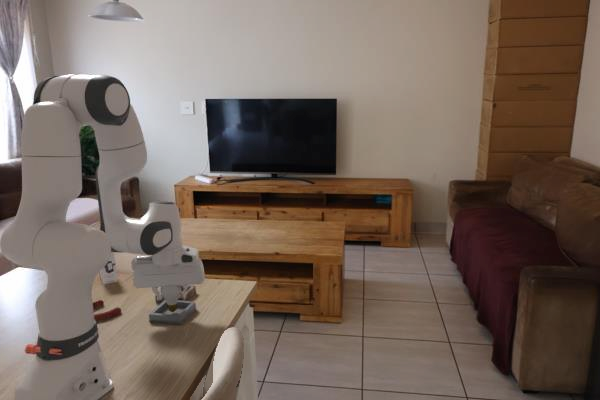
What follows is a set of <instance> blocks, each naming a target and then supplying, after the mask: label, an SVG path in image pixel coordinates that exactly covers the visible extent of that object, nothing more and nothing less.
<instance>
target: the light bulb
mask: <svg viewBox="0 0 600 400" xmlns="http://www.w3.org/2000/svg"><path fill="white" fill-rule="evenodd" d="M160 291H161V294H162V296H163V297H164V298H165V300H166V303H167V305H168V310H169V311H171V312H174V311H175V310H177V302H178V297H179V296H180V293H181V286H180V285H179V286H174V285H167V286H164V287H160Z"/></svg>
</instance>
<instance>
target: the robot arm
mask: <svg viewBox="0 0 600 400" xmlns="http://www.w3.org/2000/svg"><path fill="white" fill-rule="evenodd" d="M132 105H133V104H131V97H130V94H129V91H128V89H127V87H126V86H125V84H124V83H123V82H122V81H121V79H119V78H117V77H114V76H111V75H107V74H97V75H96V74H82V73H72V74H64V75H52V76H49V77H47V78H45V79H42V80H41V81H40V82H39V83H37V85H36V88H35V90H34V93H33V102H32V105H30V106H29V107H27V109H26V110H25V112H24V116H23V120H22V127H21V139H20V155H21V156H20V157H21V188H22V189H21V197H20V202H19V206H18V209H17V213H16V215H15V217H14V219H13V221H11V223H10V224H8V226H6V228H5V229H4V230H3V232H2V234H1V237H0V252H1V253H2V255H3V256H4V257H5V259H6V260H8V261H11V263H14V264H16V265H18V266H20V267H23V268H26V269H30V270H36V271H43V272H45V274H46V277H47V283H46V284H47V286H46V289H45V290H43V291H42V292H41V293H40V294H39V295H38V297H37V299H36V300H35V304H34V305H35V312H36V318H37V324H38V331H39V333H38V336H37V341H36V344H32V343H28V344H27V345H25V348H24V353H25V354H26V355H30V354H31V355H35V356H34V358H33V359H32V361H31V362H30V364H29V366H28V368H27V369H26V370H25V373H24V374H23V376H22V377H21V379H20V380H19V382H18V384H17V385H16V388H15V390H14V400H99V399H101V398H102V397H103V396H105V395H106V394H107V393H108V392H109V391H112V389H113V388H114V386H115V385H114V383H113V380H112V379H111V378H110V376H111V375H110V371H109V369H108V368H107V364H106V359H105V357H104V353H103V350H102V348H101V346H100V343H99V340H98V339H99V337H100V334H99V327H98V322H96V320H95V319H94V315H95V313H94V310H93V286H94V282H95V279H96V277H97V275H98V273H99V272H100V271H101V270H102V269H103V268H104V267H105V266H106V264H107V263H108V261H109V258H110V255H111V252H114V253H126V254H131V255H132V254H133V255H139V256H136V257H134V258H133V259H132V260H131V269H132V270H133V278H132V279H133V286H134V287H135V288H136V289H144V288H145V289H146V288H151V291H152V293H153V294H154V296H155V295H157V300H162V299H163V296H162V294H161V293H160V291H159V290H158V288H161V287H164V286H167V285H174V286H179V285H183V288H184V290H183V291H181V293H180V295H179V296H180V299H185V297H186V294H185V292H186V291H187V289H188V286H189V285H191V286H195V285H202V284H203V283H204V282H205V279H206V277H205V276H206V274H205V268H204V264H203V261H202V259H201V258H200V257H199V255H200V253H199V252H200V251H199V249H198V248H195V247H191V246H187V245H183V240H182V237H181V232H182V223H181V215H180V211H179V207H178V205H177V204H176V203H175V202H173V201H166V200H164V201H163V200H155V201H154V200H153V201H152V202H150V203H149V204H148V205H149V206H148V210H147V211H146V212H145V214H143V216H142V217H140V218H136V217H129V216H127V215H126V214H125V213H124V211H123V210H124V209H123V201H122V193H121V187H122V184H123V182H125V181H127V180H129V179H131V178H133V177H135V176H136V175H138V174H139V173H141V172H142V171H143V169H144V168H145V167H146V164H147V162H148V151H147V147H146V146H147V145H146V142H145V137H144V134H143V130H142V126H141V125H140V121H139V117H138V116H137V113H136V111H135V109H134V107H133V106H132ZM83 126H90V127H91V128H92V129H93V131H94V137H95V141H96V146H97V150H98V154H99V156H98V157H99V165H98V166H96V170H95V187H96V188H95V189H96V196H97V197H96V198H97V204H98V211H99V220H100V222H99V225H100V227H99V228H97V227H94V226H91V225H89V224H85V223H80V222H72V221H71V222H70V221H67V213H68V210H69V207H70V205H71V203H72V202H73V201H74V200H76V199H77V198H78V197H79V196H80V194H81V193H82V190H83V173H82V172H83V171H82V170H83V169H82V149H81V148H82V147H81V139H80V132H81V129H82V128H83ZM140 255H142V256H140Z"/></svg>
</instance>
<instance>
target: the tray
mask: <svg viewBox="0 0 600 400" xmlns="http://www.w3.org/2000/svg"><path fill="white" fill-rule="evenodd" d="M196 310H197V306H196V301H189V300H188V301H179V300H178V302H177V310H175V311H174V312H171V311H169V310H168V305H167V303H166V300H164V301H163V302H162V303H159V305H157V306H156V307H155V308H154V309H153V310H152V311H150V313H148V320H149V323H156V324H165V325H167V324H168V325H174V326H175V325H178V326H182V324H183V323H184V322H186V320H187V319H189V318H190V317H191V315H192V314H193V313H194V312H195V311H196Z"/></svg>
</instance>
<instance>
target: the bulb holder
mask: <svg viewBox="0 0 600 400" xmlns="http://www.w3.org/2000/svg"><path fill="white" fill-rule="evenodd" d="M180 286H181V291H183V290H184V288H183V285H180ZM196 289H197V288H196V285H189V286H188V289H187V291H186V292H185V294H186V297H185V299H180V295H179V297H178V300H179V301H189V300H190V299H191V298H192V297H193V296H194V295H196V293H197V290H196ZM159 292H160V293H161V290H160V291H159ZM154 298H155V303H156V304H161V303H162V302H163V301H164V300H165V298H164V297H163V299H162V300H157V295H155V294H154Z"/></svg>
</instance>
